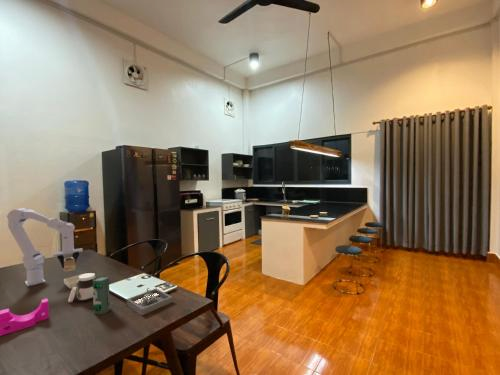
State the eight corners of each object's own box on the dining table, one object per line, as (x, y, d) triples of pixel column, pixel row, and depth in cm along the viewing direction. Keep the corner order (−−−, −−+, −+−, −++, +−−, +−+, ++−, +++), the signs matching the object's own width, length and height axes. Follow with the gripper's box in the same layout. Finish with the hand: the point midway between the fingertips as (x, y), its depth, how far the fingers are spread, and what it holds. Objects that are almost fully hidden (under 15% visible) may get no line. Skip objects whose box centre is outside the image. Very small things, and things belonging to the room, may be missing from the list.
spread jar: (101, 297, 127) (100, 274, 127) (77, 307, 117) (76, 282, 117) (87, 292, 133) (86, 270, 133) (63, 301, 123) (62, 278, 123)
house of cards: (139, 313, 112) (138, 296, 112) (136, 304, 120) (135, 289, 119) (160, 307, 117) (159, 291, 117) (155, 299, 125) (155, 284, 124)
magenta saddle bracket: (-1, 335, 97) (-2, 316, 97) (0, 329, 101) (-1, 310, 101) (49, 320, 107) (48, 303, 107) (48, 314, 112) (47, 298, 111)
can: (93, 310, 115) (92, 277, 114) (108, 306, 118) (107, 274, 118) (94, 316, 110) (93, 282, 109) (110, 311, 113) (109, 278, 113)
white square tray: (64, 283, 145) (63, 278, 145) (86, 277, 153) (86, 273, 153) (69, 289, 137) (69, 284, 137) (93, 282, 146) (93, 277, 146)
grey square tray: (126, 305, 119) (126, 299, 119) (156, 294, 130) (156, 288, 130) (142, 316, 109) (141, 309, 109) (172, 303, 121) (172, 296, 120)
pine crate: (62, 268, 151) (61, 258, 150) (72, 266, 154) (71, 256, 154) (65, 271, 146) (65, 261, 146) (75, 269, 150) (75, 259, 150)
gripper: (54, 247, 142) (55, 271, 142) (84, 242, 153) (84, 264, 153) (51, 245, 146) (52, 268, 147) (80, 240, 157) (81, 262, 158)
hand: (68, 266), depth 150 cm, fingers closed on pine crate, 5 cm apart
